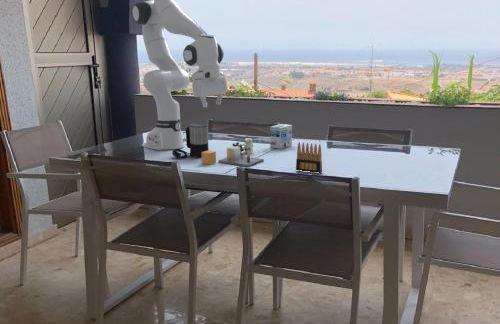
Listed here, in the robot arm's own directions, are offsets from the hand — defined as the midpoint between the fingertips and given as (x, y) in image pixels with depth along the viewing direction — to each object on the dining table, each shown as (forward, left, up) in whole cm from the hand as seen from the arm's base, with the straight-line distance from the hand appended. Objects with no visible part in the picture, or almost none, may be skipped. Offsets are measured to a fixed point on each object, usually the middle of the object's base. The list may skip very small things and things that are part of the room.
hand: (212, 105), depth 203 cm
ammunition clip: (+44, +6, -25) cm, 51 cm away
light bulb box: (+10, +44, -25) cm, 51 cm away
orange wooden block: (0, -3, -25) cm, 25 cm away
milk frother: (-15, +2, -25) cm, 29 cm away
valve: (+3, +20, -25) cm, 32 cm away
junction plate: (+11, +6, -25) cm, 28 cm away
